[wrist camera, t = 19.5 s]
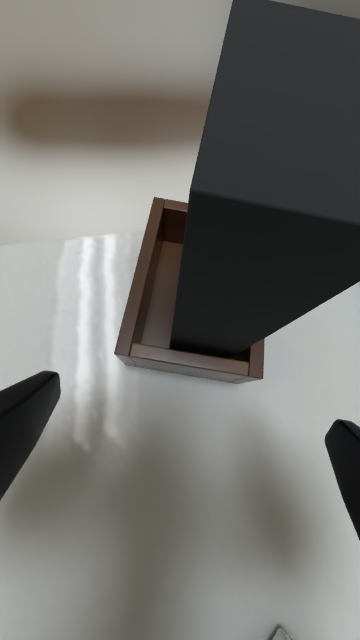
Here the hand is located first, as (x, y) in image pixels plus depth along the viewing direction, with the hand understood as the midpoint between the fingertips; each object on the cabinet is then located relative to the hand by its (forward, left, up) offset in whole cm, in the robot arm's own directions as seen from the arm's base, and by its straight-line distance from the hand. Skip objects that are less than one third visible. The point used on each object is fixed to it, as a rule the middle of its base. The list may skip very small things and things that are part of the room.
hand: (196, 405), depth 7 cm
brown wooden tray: (+7, +2, -9) cm, 11 cm away
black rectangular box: (+7, +1, -8) cm, 10 cm away
